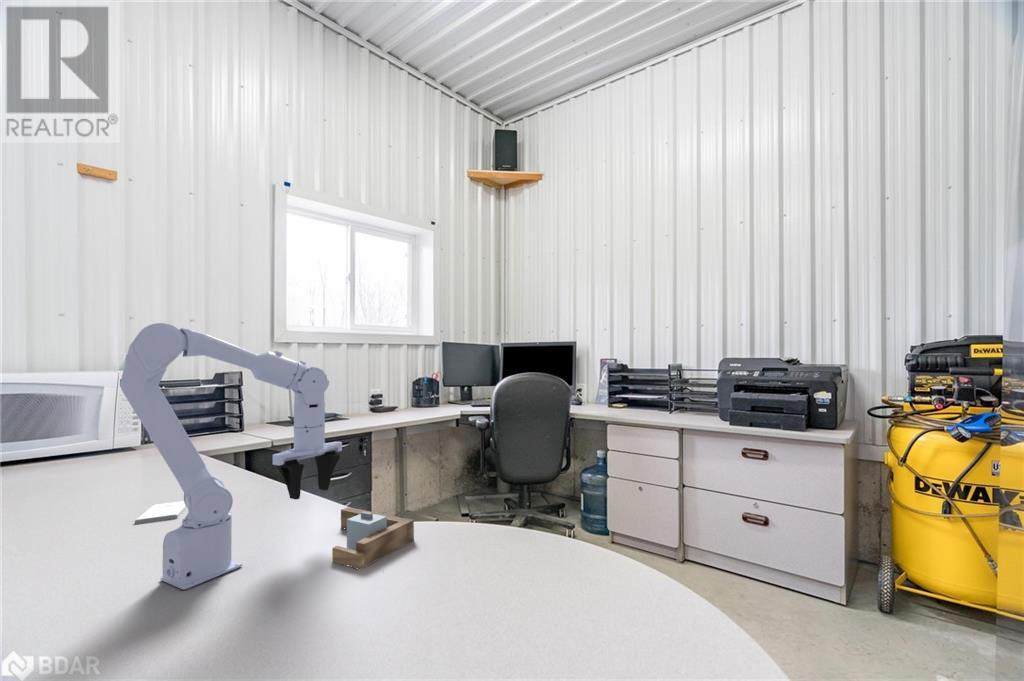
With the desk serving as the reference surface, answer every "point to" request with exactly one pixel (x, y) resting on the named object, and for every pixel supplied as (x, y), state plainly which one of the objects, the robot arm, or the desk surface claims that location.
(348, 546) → the cabinet block
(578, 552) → the desk surface
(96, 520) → the desk surface
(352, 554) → the wooden frame
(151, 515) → the external hard drive
